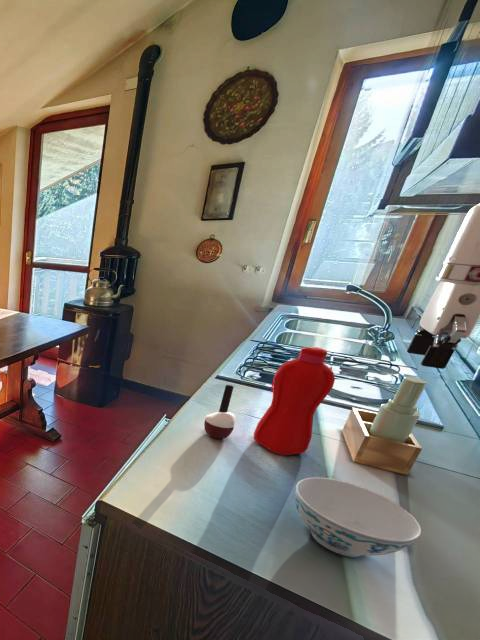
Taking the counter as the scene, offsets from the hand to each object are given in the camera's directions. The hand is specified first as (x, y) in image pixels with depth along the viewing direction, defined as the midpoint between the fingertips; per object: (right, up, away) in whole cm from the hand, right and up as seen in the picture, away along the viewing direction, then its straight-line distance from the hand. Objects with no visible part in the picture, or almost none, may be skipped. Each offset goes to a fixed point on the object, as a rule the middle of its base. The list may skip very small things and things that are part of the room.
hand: (424, 360), depth 80 cm
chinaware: (-31, -32, -13) cm, 46 cm away
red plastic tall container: (-19, -20, +15) cm, 31 cm away
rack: (+2, -21, +13) cm, 25 cm away
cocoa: (-30, -18, +19) cm, 40 cm away
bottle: (0, -21, +9) cm, 23 cm away
